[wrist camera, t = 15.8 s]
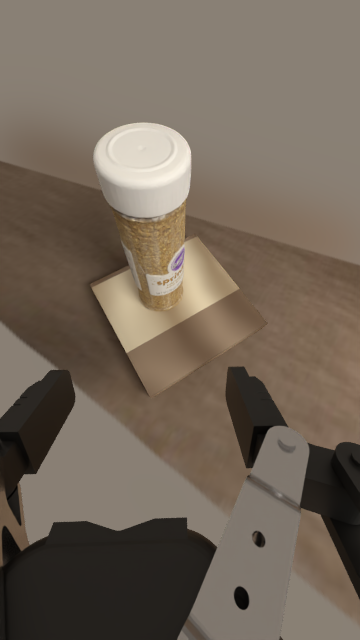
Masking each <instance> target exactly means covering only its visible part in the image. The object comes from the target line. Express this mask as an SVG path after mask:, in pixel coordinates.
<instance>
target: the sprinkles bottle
mask: <svg viewBox="0 0 360 640" xmlns="http://www.w3.org/2000/svg"><path fill="white" fill-rule="evenodd" d="M93 162H94V166H95V170H96V173H97V176H98V180H99V183H100V186H101V189H102V192H103V195H104V197H105V199H106V200H107V202H108V204H109V206H110V208H111V209H112V211H113V214H114V217H115V220H116V223H117V227H118V230H119V233H120V238H121V242H122V245H123V248H124V252H125V254H126V258H127V260H128V263H129V266H130V269H131V272H132V275H133V278H134V281H135V283H136V285H137V287H138V291H139V297H140V300H141V301H142V303H143V304H144V305H145V306H146V307H147V308H149V309H150V310H153V311H166V310H170V309H172V308H174V307H175V306H176V305H177V304H179V302H180V301H181V299H182V296H183V285H182V284H183V282H182V280H183V276H184V255H185V244H184V239H185V207H186V200H187V196H188V193H189V189H190V179H191V178H190V177H191V151H190V147H189V145H188V143H187V141H186V140H185V139H184V138H183V137H182V136H181V135H180V134H179V133H177V132H176V131H175V130H173V129H171V128H169V127H166V126H163V125H160V124H154V123H132V124H127V125H123V126H120V127H118V128H115V129H113V130H112V131H110V132H108V133H107V134H105V135H104V136H103V137H102V138H101V139H100V140H99V141H98V143H97V145H96V147H95V149H94V154H93Z"/></svg>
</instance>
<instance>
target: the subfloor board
mask: <svg viewBox="0 0 360 640" xmlns="http://www.w3.org/2000/svg"><path fill="white" fill-rule="evenodd" d="M184 244H185V255H184V276H183V280H182V282H183V284H182V285H183V296H182V299H181V301H180V302H179V304H177V305H176V306H175V307H174V308H172V309H170V310H166V311H153V310H150V309H149V308H147V307H146V306H145V305H144V304H143V303H142V301H141V300H140V297H139V291H138V287H137V285H136V283H135V281H134V278H133V275H132V272H131V269H130V266H129V265H128V266H126V267H124V268H122V269H120V270H118V271H116V272H114V273H112V274H110V275H108V276H106V277H103V278H101V279H99V280H97V281H95V282H93V283H91V284H90V286H91V288H92V290H93V291H94V293H95V295H96V297H97V299H98V301H99V303H100V305H101V306H102V308H103V310H104V312H105V314H106V316H107V318H108V320H109V321H110V323H111V325H112V327H113V329H114V331H115V333H116V334H117V336H118V338H119V340H120V342H121V344H122V346H123V348H124V349H125V351H126V353H127V355H128V357H129V359H130V361H131V363H132V364H133V366H134V368H135V370H136V372H137V374H138V376H139V378H140V379H141V381H142V383H143V385H144V387H145V389H146V391H147V393H148V394H149V396H150V398H153V397H155V396H156V395H158V394H159V393H161V392H163V391H164V390H166V389H167V388H169V387H170V386H172V385H174V384H175V383H177V382H178V381H180V380H181V379H183V378H185V377H186V376H188V375H189V374H191V373H192V372H194V371H196V370H197V369H199V368H200V367H202V366H204V365H205V364H207V363H208V362H210V361H211V360H213V359H215V358H216V357H218V356H219V355H221V354H222V353H224V352H226V351H227V350H229V349H230V348H232V347H233V346H235V345H237V344H238V343H240V342H241V341H243V340H245V339H246V338H248V337H249V336H251V335H252V334H254V333H256V332H257V331H259V330H260V329H262V328H263V327H264V326H265V325H266V324H267V322H266V321H265V320H264V318H263V317H262V316H261V315H260V313H259V312H258V311H257V310H256V308H255V307H254V306H253V305H252V304H251V302H250V301H249V300H248V299H247V297H246V296H245V295H244V294H243V292H242V291H241V290H240V289H239V287H238V286H237V285H236V284H235V282H234V281H233V280H232V279H231V277H230V276H229V275H228V274H227V272H226V271H225V270H224V269H223V268H222V266H221V265H220V264H219V263H218V261H217V260H216V259H215V258H214V256H213V255H212V254H211V253H210V252H209V250H208V249H207V248H206V247H205V245H204V244H203V243H202V242H201V240H200V239H199V238H198V237H197V236H196V234H193V235H191V236H189V237H186V238H185V239H184Z"/></svg>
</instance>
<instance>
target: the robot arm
mask: <svg viewBox="0 0 360 640" xmlns="http://www.w3.org/2000/svg"><path fill="white" fill-rule="evenodd" d="M226 402H227V406H228V409H229V412H230V416H231V419H232V422H233V426H234V429H235V432H236V436H237V439H238V442H239V446H240V449H241V452H242V456H243V459H244V462H245V466H246V468H253V469H252V471H251V473H250V475H249V476H247V478H246V480H245V482H244V484H243V487H242V489H241V491H240V494H239V496H238V499H237V501H236V504H235V506H234V508H233V511H232V513H231V516H230V518H229V520H228V523H227V526H226V528H225V530H224V533H223V535H222V537H221V540H220V542H219V545H218V547H216V546H215V545H214V544H213V543H212V542H211V541H210V540H208V539H207V538H205V537H204V536H203V535H201V534H199V533H197V532H195V531H192V530H189V529H187V518H164V519H163V518H161V519H152V520H150V521H147V522H144V523H141V524H138V525H136V526H133V527H130V528H127V529H124V530H121V531H115V530H112V529H109V528H106V527H103V526H100V525H97V524H93V523H90V522H87V521H81V522H54V523H53V525H52V528H51V531H50V533H49V535H48V536H47V537H45V538H43V539H40V540H38V541H36V542H35V543H33V544H31V545H30V544H29V541H28V537H27V533H26V527H25V519H24V511H23V503H22V493H21V487H20V483H19V481H20V479H21V478H22V476H23V475H24V474H36V473H37V471H38V469H39V468H40V466H41V464H42V462H43V460H44V459H45V457H46V455H47V453H48V451H49V449H50V448H51V446H52V444H53V442H54V440H55V439H56V437H57V435H58V433H59V431H60V430H61V428H62V426H63V424H64V422H65V421H66V419H67V417H68V415H69V413H70V412H71V410H72V408H73V406H74V403H75V392H74V388H73V384H72V380H71V376H70V373H69V371H68V370H51V371H49V372H48V373H47V375H46V376H45V377H44V378H43V379H42V380H41V381H38V382H36V383H35V384H33V385H32V386H30V387H29V388H28V389H27V390H26V391H25V392H24V393H23V394H22V395H21V396H20V399H18V400H17V401H16V402H15V403H14V404H13V406H11V407H10V409H9V410H8V411H7V412H6V413H5V414H4V415H3V416H2V417H1V419H0V640H283V639H282V638H281V636H280V633H281V627H282V621H283V615H284V609H285V603H286V597H287V591H288V585H289V580H290V574H291V568H292V563H293V557H294V551H295V545H296V539H297V533H298V528H299V522H300V515H301V508H303V509H306V510H309V511H312V512H315V513H318V514H321V517H322V519H323V521H324V523H325V525H326V527H327V530H328V532H329V534H330V536H331V538H332V540H333V543H334V545H335V547H336V549H337V551H338V554H339V556H340V558H341V560H342V562H343V564H344V567H345V569H346V571H347V573H348V575H349V577H350V580H351V582H352V584H353V586H354V588H355V591H356V593H357V595H358V597H359V599H360V445H358V444H355V443H351V442H343V443H340V444H338V445H337V447H336V449H335V450H331V449H327V448H323V447H319V446H315V445H312V444H309V443H307V442H306V440H305V439H304V438H303V437H302V436H301V435H300V434H299V433H298V432H296V431H295V430H293V429H291V428H289V427H288V426H287V424H286V422H285V420H284V419H283V417H282V415H281V413H280V412H279V410H278V408H277V406H276V405H275V403H274V401H273V400H272V398H271V396H270V394H269V393H268V391H267V389H266V387H265V385H264V384H263V383H262V382H261V381H260V380H259V379H258V378H256V377H249V375H248V373H247V371H246V369H245V367H228V372H227V382H226Z"/></svg>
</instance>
